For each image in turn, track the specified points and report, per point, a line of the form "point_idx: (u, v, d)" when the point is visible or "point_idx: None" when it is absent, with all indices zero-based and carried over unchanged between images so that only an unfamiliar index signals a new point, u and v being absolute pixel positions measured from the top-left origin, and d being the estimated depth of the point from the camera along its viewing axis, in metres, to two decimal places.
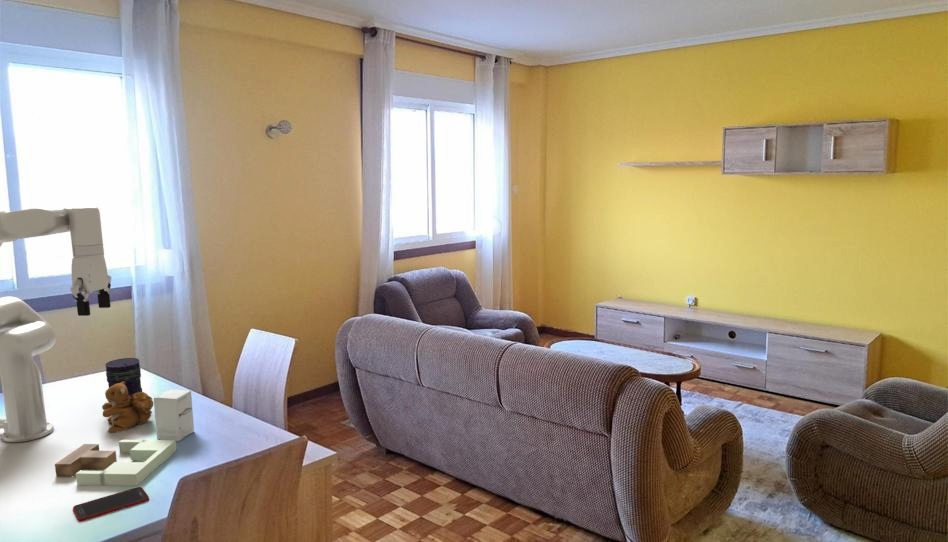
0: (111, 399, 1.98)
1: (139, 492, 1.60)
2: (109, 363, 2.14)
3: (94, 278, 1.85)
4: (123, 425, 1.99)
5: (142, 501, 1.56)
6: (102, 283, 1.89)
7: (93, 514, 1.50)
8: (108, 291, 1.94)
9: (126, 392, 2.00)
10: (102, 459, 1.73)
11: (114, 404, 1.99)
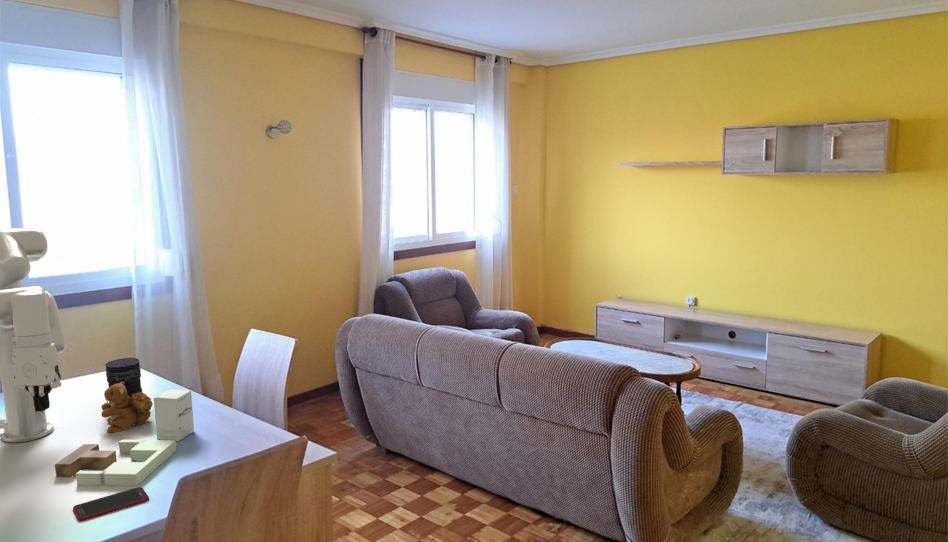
0: (110, 399, 1.98)
1: (139, 492, 1.60)
2: (109, 363, 2.14)
3: None
4: (122, 425, 1.98)
5: (142, 501, 1.56)
6: None
7: (93, 514, 1.50)
8: None
9: (125, 392, 2.00)
10: (102, 459, 1.73)
11: (113, 404, 1.99)
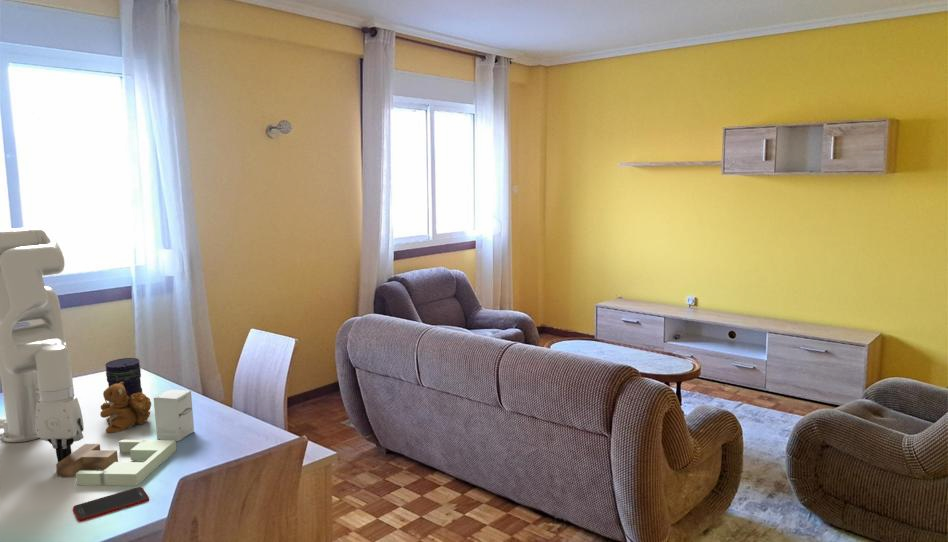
0: (109, 399, 1.98)
1: (139, 492, 1.60)
2: (109, 363, 2.14)
3: None
4: (121, 425, 1.98)
5: (142, 501, 1.56)
6: None
7: (93, 514, 1.50)
8: None
9: (124, 393, 1.99)
10: (104, 459, 1.73)
11: (112, 404, 1.99)
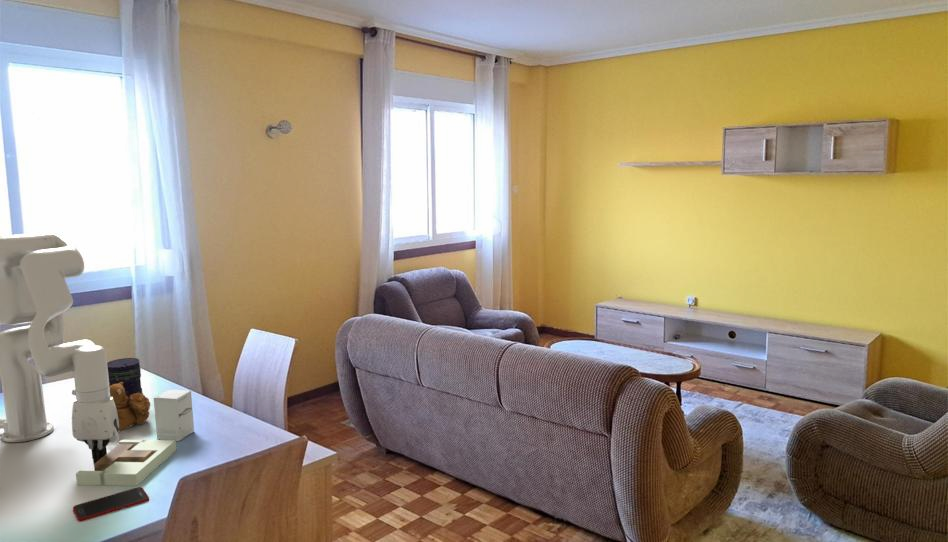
0: None
1: (139, 492, 1.60)
2: (109, 363, 2.14)
3: None
4: (119, 426, 1.98)
5: (142, 501, 1.56)
6: None
7: (93, 514, 1.50)
8: None
9: (123, 393, 1.99)
10: (141, 459, 1.73)
11: None
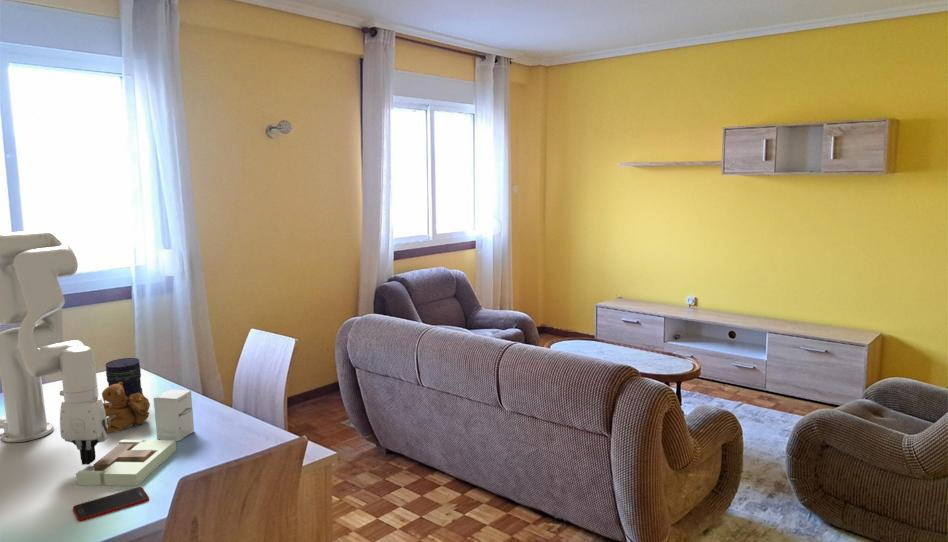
0: (107, 400, 1.98)
1: (139, 492, 1.60)
2: (109, 363, 2.14)
3: None
4: (119, 426, 1.98)
5: (142, 501, 1.56)
6: None
7: (93, 514, 1.50)
8: None
9: (122, 393, 1.99)
10: (141, 459, 1.73)
11: (110, 405, 1.98)
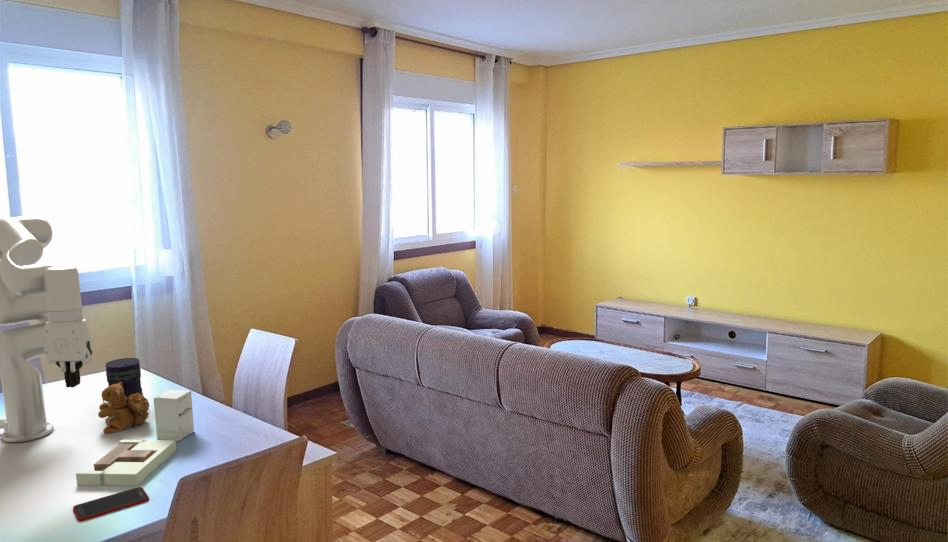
0: (107, 400, 1.97)
1: (139, 492, 1.60)
2: (109, 363, 2.14)
3: None
4: (118, 426, 1.98)
5: (142, 501, 1.56)
6: None
7: (93, 514, 1.50)
8: None
9: (122, 393, 1.99)
10: (141, 459, 1.73)
11: (110, 405, 1.98)
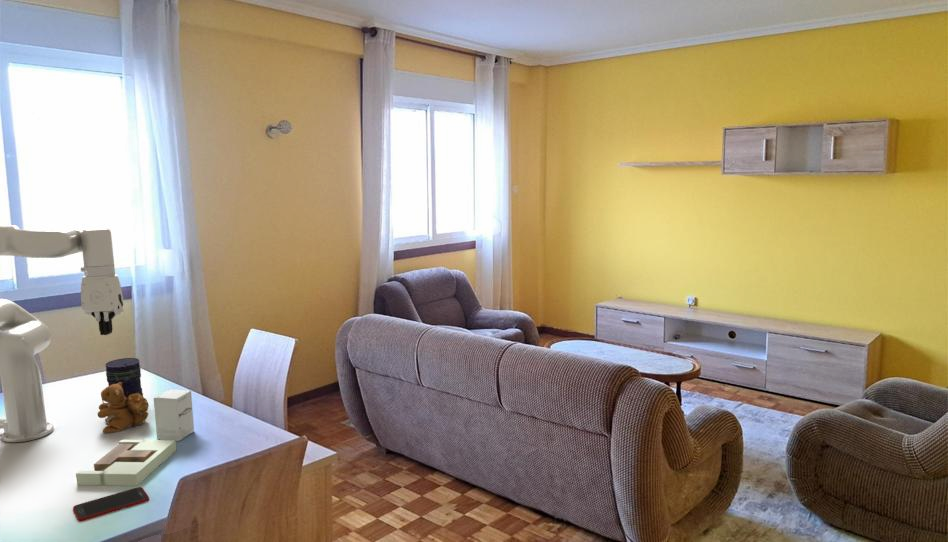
0: (106, 400, 1.97)
1: (139, 492, 1.60)
2: (109, 363, 2.14)
3: None
4: (117, 426, 1.98)
5: (142, 501, 1.56)
6: None
7: (93, 514, 1.50)
8: None
9: (121, 393, 1.99)
10: (141, 459, 1.73)
11: (109, 405, 1.98)
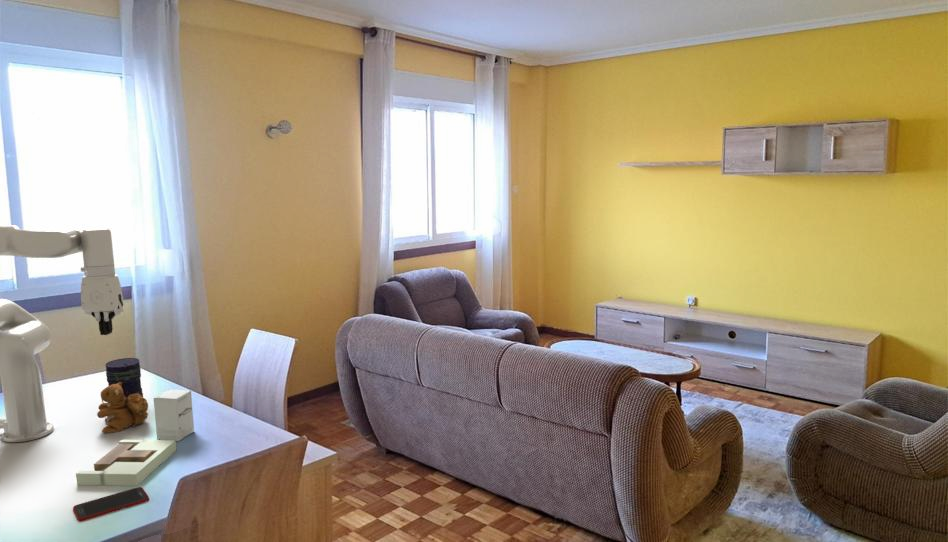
0: (106, 400, 1.97)
1: (139, 492, 1.60)
2: (109, 363, 2.14)
3: None
4: (117, 426, 1.98)
5: (142, 501, 1.56)
6: None
7: (93, 514, 1.50)
8: None
9: (121, 393, 1.99)
10: (141, 459, 1.73)
11: (109, 405, 1.98)
